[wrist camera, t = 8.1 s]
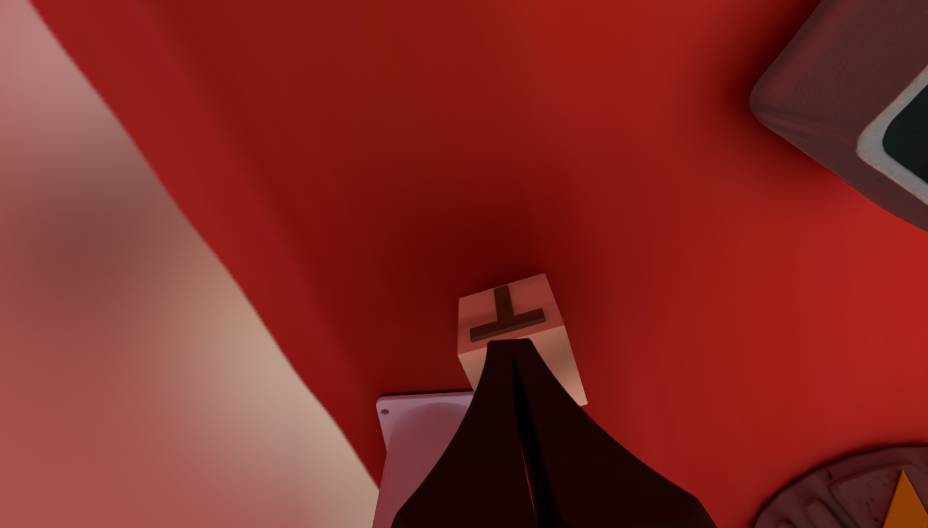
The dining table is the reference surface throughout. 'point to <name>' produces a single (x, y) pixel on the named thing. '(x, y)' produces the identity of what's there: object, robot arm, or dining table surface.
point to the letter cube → (517, 329)
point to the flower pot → (857, 98)
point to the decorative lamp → (856, 493)
